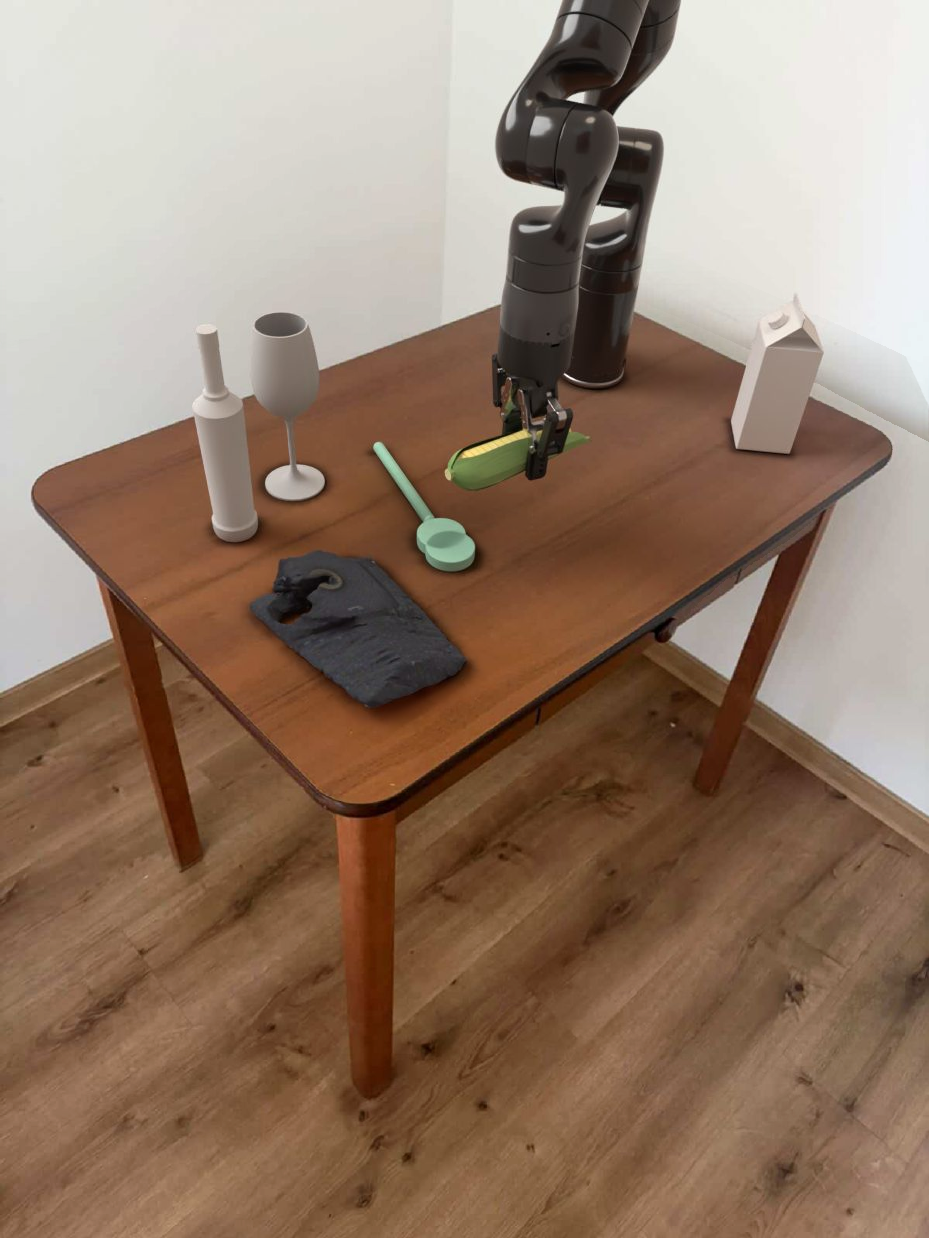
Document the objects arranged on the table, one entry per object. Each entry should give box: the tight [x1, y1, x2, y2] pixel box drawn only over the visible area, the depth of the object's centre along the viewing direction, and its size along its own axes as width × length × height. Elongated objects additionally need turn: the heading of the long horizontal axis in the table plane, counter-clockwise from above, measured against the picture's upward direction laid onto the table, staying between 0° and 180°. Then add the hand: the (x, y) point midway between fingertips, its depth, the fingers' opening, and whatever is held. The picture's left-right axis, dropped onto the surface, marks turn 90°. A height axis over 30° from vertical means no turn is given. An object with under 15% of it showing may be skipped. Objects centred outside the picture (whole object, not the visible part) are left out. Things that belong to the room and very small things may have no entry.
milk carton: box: [730, 292, 825, 455], centre depth 124 cm, size 7×7×19 cm
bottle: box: [191, 323, 259, 543], centre depth 103 cm, size 5×5×25 cm
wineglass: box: [249, 311, 326, 502], centre depth 111 cm, size 8×8×21 cm
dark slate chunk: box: [249, 549, 469, 709], centre depth 98 cm, size 15×22×5 cm
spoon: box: [373, 441, 476, 572], centre depth 116 cm, size 26×6×1 cm, turn 25°
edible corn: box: [444, 428, 592, 492], centre depth 106 cm, size 5×20×5 cm, turn 125°
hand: (522, 462), depth 107 cm, fingers closed on edible corn, 5 cm apart
